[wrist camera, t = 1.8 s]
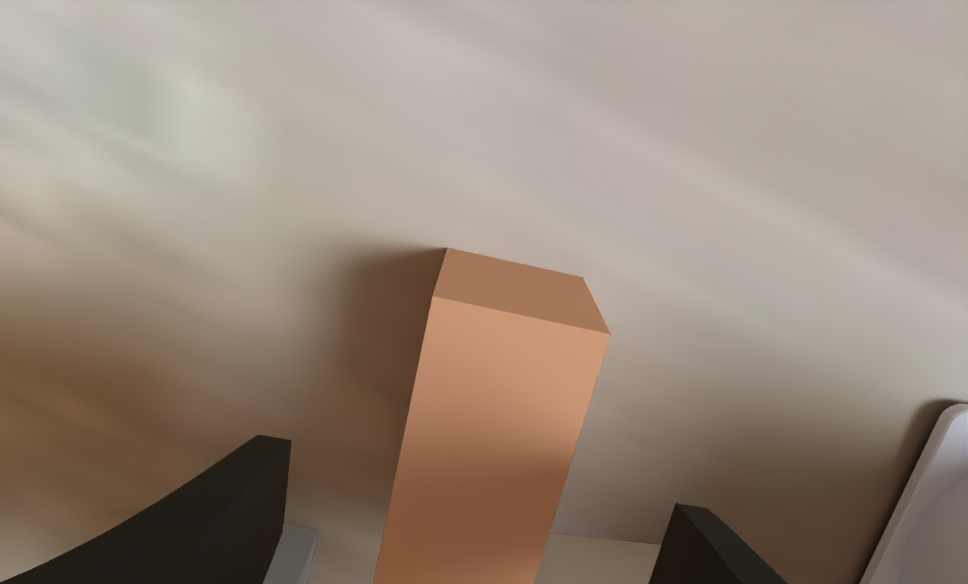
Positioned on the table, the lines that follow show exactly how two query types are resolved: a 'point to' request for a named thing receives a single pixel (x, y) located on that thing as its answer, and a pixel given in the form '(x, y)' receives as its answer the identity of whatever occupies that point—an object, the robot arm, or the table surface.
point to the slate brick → (292, 556)
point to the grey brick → (595, 561)
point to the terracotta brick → (491, 423)
